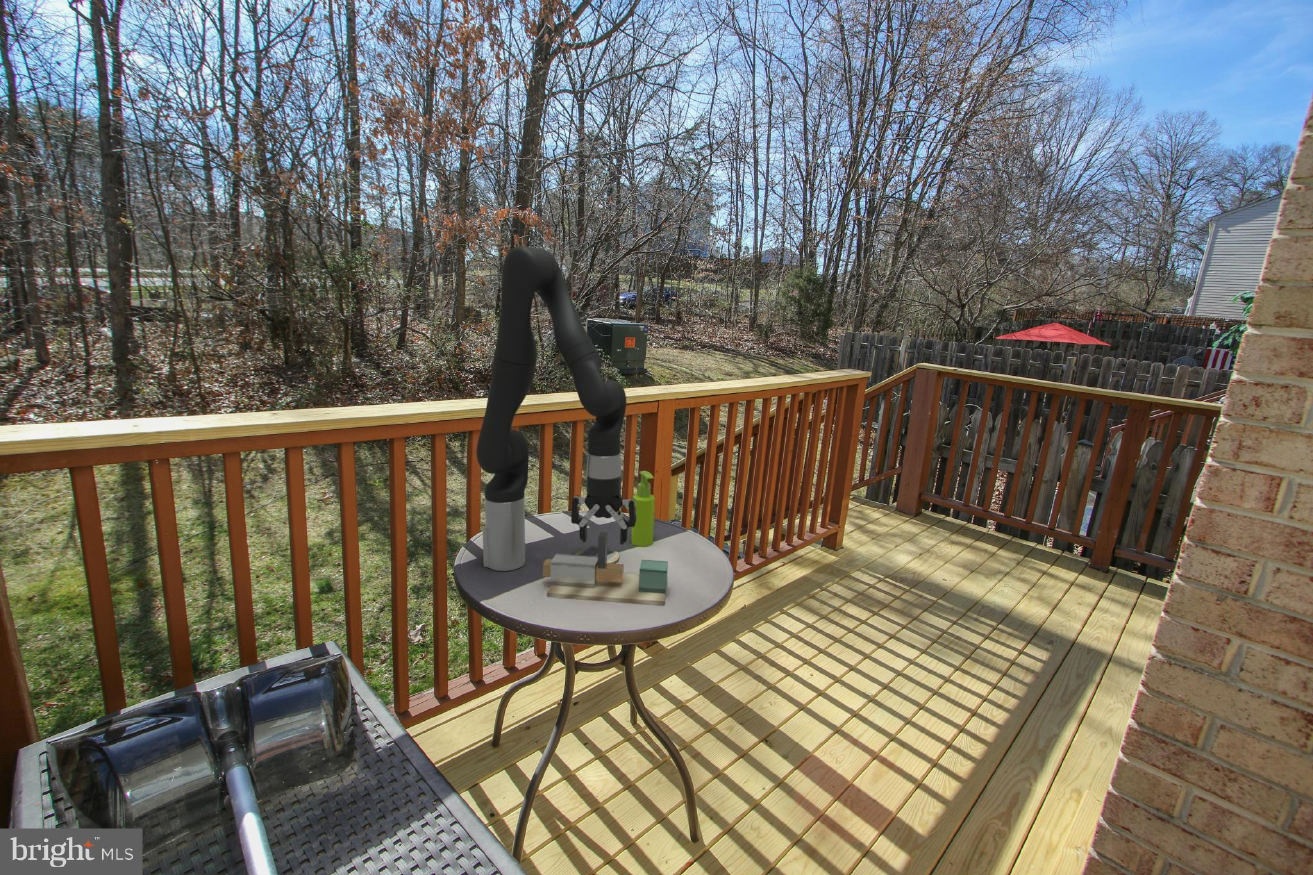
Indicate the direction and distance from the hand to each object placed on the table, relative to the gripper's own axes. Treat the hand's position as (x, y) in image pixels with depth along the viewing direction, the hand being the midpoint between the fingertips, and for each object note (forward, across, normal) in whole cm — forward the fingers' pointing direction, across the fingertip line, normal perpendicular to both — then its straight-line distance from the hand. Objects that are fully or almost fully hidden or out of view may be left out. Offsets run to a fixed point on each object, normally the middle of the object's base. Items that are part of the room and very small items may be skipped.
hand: (603, 542), depth 137 cm
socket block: (+11, +11, 0) cm, 16 cm away
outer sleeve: (+11, -7, 0) cm, 13 cm away
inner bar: (+9, -5, 0) cm, 10 cm away
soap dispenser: (+11, +6, +27) cm, 30 cm away
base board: (+11, +1, 0) cm, 11 cm away
